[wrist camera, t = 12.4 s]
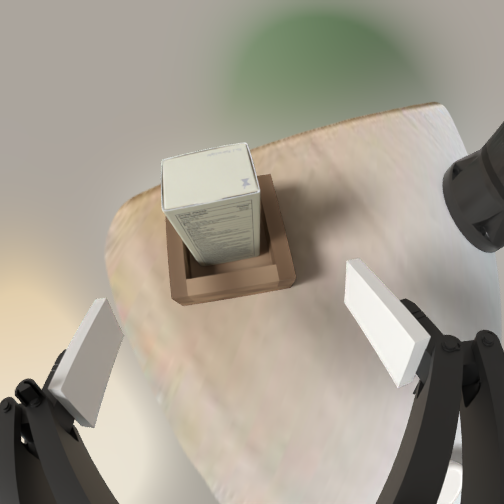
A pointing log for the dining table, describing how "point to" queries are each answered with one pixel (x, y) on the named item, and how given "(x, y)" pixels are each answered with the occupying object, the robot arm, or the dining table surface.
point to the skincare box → (214, 202)
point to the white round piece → (451, 484)
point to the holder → (236, 272)
